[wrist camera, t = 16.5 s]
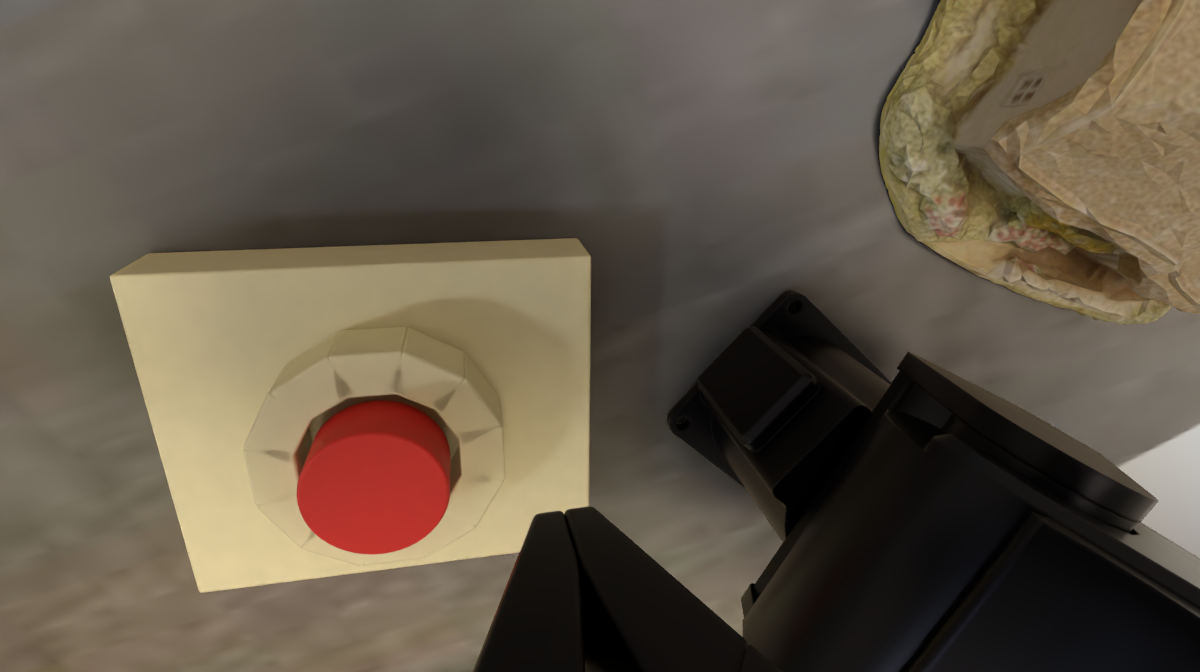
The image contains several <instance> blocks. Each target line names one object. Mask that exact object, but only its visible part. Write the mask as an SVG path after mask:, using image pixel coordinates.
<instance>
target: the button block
mask: <svg viewBox="0 0 1200 672" xmlns="http://www.w3.org/2000/svg"><path fill="white" fill-rule="evenodd" d="M110 280H111V284H112V287H113V291H114V294H115V298H116V301H117V305H118V308H119V312H120V315H121V319H122V322H123V326H124V330H125V333H126V337H127V340H128V344H129V347H130V351H131V354H132V358H133V361H134V365H135V368H136V372H137V375H138V379H139V382H140V386H141V389H142V393H143V396H144V400H145V403H146V407H147V410H148V414H149V417H150V421H151V425H152V428H153V432H154V435H155V439H156V442H157V446H158V449H159V453H160V456H161V460H162V463H163V467H164V470H165V474H166V477H167V481H168V484H169V488H170V491H171V495H172V498H173V502H174V505H175V509H176V512H177V516H178V519H179V523H180V527H181V530H182V534H183V537H184V541H185V544H186V548H187V551H188V555H189V558H190V562H191V565H192V569H193V572H194V576H195V579H196V583H197V586H198V590H199V592H200V593H204V592H212V591H220V590H228V589H236V588H243V587H251V586H259V585H267V584H275V583H282V582H290V581H298V580H306V579H314V578H322V577H329V576H337V575H345V574H353V573H361V572H368V571H376V570H384V569H392V568H400V567H408V566H415V565H423V564H431V563H439V562H447V561H454V560H462V559H470V558H478V557H486V556H493V555H501V554H509V553H517V552H520V550H521V548H522V545H523V543H524V540H525V538H526V535H527V532H528V530H529V527H530V525H531V522H532V520H533V518H534V516H535V515H536V514H538V513H545V512H552V511H561V512H563V513H565V511H566V510H568V509H573V508H580V507H587V506H589V463H590V338H591V256H590V255H589V253H588V252H587V251H586V249H585V248H584V246H583V245H582V244H581V242H580V241H579V240H578V239H577V238H566V239H537V240H509V241H481V242H453V243H425V244H396V245H368V246H340V247H312V248H284V249H255V250H227V251H199V252H171V253H148V254H146V255H145V256H143V257H141V258H139V259H138V260H136V261H134V262H133V263H131V264H129V265H128V266H126V267H124V268H122V269H121V270H119V271H117V272H116V273H114V274H112V275H110ZM374 400H386V401H395V402H400V403H404V404H407V405H410V406H412V407H415V408H417V409H419V410H420V411H422V412H424V413H425V414H427V415H428V416H429V417H430V418H432V419H433V420H434V421H435V422H436V423H437V424H438V425H439V427H440V428H441V430H442V431H443V433H444V434H445V436H446V438H447V441H448V444H449V448H450V498H449V503H448V506H447V510H446V512H445V514H444V516H443V518H442V519H441V521H440V522H439V524H438V525H437V526H436V527H435V528H434V529H433V530H432V532H430V533H429V534H428V535H427V536H426V537H425V538H423V539H422V540H420V541H419V542H417V543H415V544H413V545H411V546H409V547H407V548H404V549H402V550H398V551H395V552H390V553H385V554H359V553H353V552H348V551H345V550H342V549H339V548H336V547H334V546H332V545H330V544H328V543H327V542H325V541H324V540H322V539H321V538H319V537H318V536H317V535H316V534H315V533H314V532H313V531H312V530H311V529H310V528H309V527H308V525H307V524H306V522H305V521H304V519H303V517H302V515H301V513H300V510H299V507H298V503H297V484H298V480H299V477H300V474H301V471H302V469H303V466H304V464H305V461H306V459H307V456H308V453H309V451H310V448H311V446H312V443H313V441H314V438H315V436H316V434H317V433H318V431H319V429H320V428H321V427H322V426H323V425H324V423H325V422H326V421H327V420H329V419H330V418H331V417H332V416H333V415H335V414H336V413H338V412H339V411H341V410H343V409H345V408H347V407H350V406H352V405H355V404H358V403H362V402H367V401H374Z"/></svg>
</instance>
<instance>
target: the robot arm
mask: <svg viewBox="0 0 1200 672" xmlns="http://www.w3.org/2000/svg"><path fill="white" fill-rule="evenodd" d="M793 301H796V306H795V307H794V309H792V310H791V311H788V306H789V304H790V303H791V302H793ZM897 369H898V370H900V371H899V373H898V374H897V376H896V377H895V379H894V380H893V382H892V383H891V382H890V381H889V380H888V379H887V378H886V377H885V376H884V375H883V374H882V373H881V372H880V371H879V370H878V369H877V368H876V367H875V366H874V365H873V364H872V363H871V362H870V361H869V360H868V359H867V358H866V357H865V356H864V355H863V354H862V353H861V352H860V351H859V350H858V349H857V348H856V347H855V346H854V345H853V344H852V343H851V342H850V341H849V340H848V339H847V338H846V337H845V336H844V335H843V334H842V333H841V332H840V331H839V330H838V329H837V328H836V327H835V326H834V325H833V324H832V323H831V322H830V321H829V320H828V319H827V318H826V317H825V316H824V315H823V314H822V313H821V312H820V311H819V310H818V309H817V308H816V307H815V306H814V305H813V304H812V303H811V302H810V301H809V300H808V299H807V298H806V297H805V296H803V295H802V294H800V293H799V292H797V291H795V290H789V291H786V292H784V293H783V294H781V295H780V296H779V297H778V298H777V299H776V300H775V301H774V302H773V303H772V304H771V306H770V307H769V308H768V309H767V310H766V311H765V312H764V313H763V314H762V315H761V316H760V317H759V318H758V319H757V320H756V321H755V322H754V323H753V324H752V325H751V326H750V327H748V328H746V329H745V330H744V331H743V332H742V333H741V334H740V335H739V336H738V337H737V338H736V339H735V340H734V341H733V342H732V343H731V344H730V345H729V346H728V347H727V348H726V349H725V350H724V352H723V353H722V354H721V355H720V356H719V357H718V358H717V359H716V360H715V361H714V362H713V363H712V364H711V365H710V366H709V367H708V368H707V369H706V370H705V371H704V373H703V374H702V375H701V376H700V377H699V378H698V382H697V383H696V384H695V385H694V386H693V387H692V388H691V389H690V390H689V391H688V392H687V394H686V395H685V396H684V397H683V398H682V399H681V400H680V401H679V402H678V403H677V404H676V405H675V406H674V407H673V408H672V409H671V410H670V412H669V413H668V415H667V419H666V420H667V424H668V426H669V428H670V429H671V431H672V432H673V433H674V434H675V435H676V436H678V437H679V438H680V439H682V440H683V441H684V442H686V443H687V444H688V445H690V446H691V447H692V448H693V449H695V450H696V451H697V452H699V453H700V454H701V455H703V456H704V457H705V458H707V459H708V460H709V461H711V462H712V463H713V464H715V465H716V466H717V467H718V468H720V469H721V470H722V471H724V472H725V473H726V474H728V475H729V476H730V477H732V478H733V479H734V480H736V481H737V482H738V483H739V484H741V485H742V486H743V487H745V488H746V489H747V491H748V492H749V494H750V495H751V497H752V498H753V500H754V501H755V502H756V504H757V505H758V507H759V508H760V510H761V511H762V512H763V514H764V515H765V517H766V518H767V520H768V521H769V523H770V524H771V525H772V527H773V528H774V530H775V531H776V533H777V534H778V535H779V537H780V538H781V540H782V541H783V544H782V545H781V547H780V548H779V550H778V551H777V553H776V554H775V555H774V557H773V558H772V560H771V561H770V563H769V564H768V566H767V567H766V569H765V570H764V572H763V573H762V575H761V576H760V578H759V579H758V581H757V582H756V583H755V584H753V583H752V584H750V586H749V587H748V589H747V590H746V592H745V593H744V595H743V596H742V598H741V602H742V608H743V614H744V619H743V637H742V636H740V635H739V634H738V633H737V632H736V631H735V630H734V629H732V628H731V627H730V626H729V625H728V624H727V623H726V622H724V621H723V620H722V619H721V618H720V617H719V616H718V615H716V614H715V613H714V612H713V611H712V610H711V609H709V608H708V607H707V606H706V605H705V604H704V603H703V602H701V601H700V600H699V599H698V598H697V597H696V596H695V595H693V594H692V593H691V592H690V591H689V590H688V589H687V588H685V587H684V586H683V585H682V584H681V583H680V582H679V581H677V580H676V579H675V578H674V577H673V576H672V575H671V574H669V573H668V572H667V571H666V570H665V569H664V568H663V567H661V566H660V565H659V564H658V563H657V562H656V561H655V560H653V559H652V558H651V557H650V556H649V555H648V554H647V553H645V552H644V551H643V550H642V549H641V548H640V547H639V546H637V545H636V544H635V543H634V542H633V541H632V540H631V539H629V538H628V537H627V536H626V535H625V534H624V533H623V532H621V531H620V530H619V529H618V528H617V527H616V526H615V525H613V524H612V523H611V522H610V521H609V520H608V519H607V518H605V517H604V516H603V515H602V514H601V513H600V512H599V511H597V510H596V509H595V508H594V507H591V506H587V507H580V508H573V509H568V510H566V511H565V513H563V512H561V511H552V512H545V513H538V514H536V515H535V516H534V518H533V520H532V522H531V525H530V527H529V530H528V532H527V535H526V538H525V540H524V543H523V545H522V548H521V550H520V553H519V555H518V558H517V561H516V563H515V566H514V568H513V571H512V573H511V576H510V578H509V581H508V583H507V586H506V589H505V591H504V594H503V596H502V599H501V601H500V604H499V606H498V609H497V611H496V614H495V617H494V619H493V622H492V624H491V627H490V629H489V632H488V634H487V637H486V640H485V642H484V645H483V647H482V650H481V652H480V655H479V657H478V660H477V662H476V665H475V668H474V670H473V672H1200V559H1199V558H1198V557H1196V556H1195V555H1193V554H1192V553H1190V552H1188V551H1187V550H1185V549H1183V548H1182V547H1180V546H1179V545H1177V544H1175V543H1174V542H1172V541H1170V540H1168V539H1167V538H1165V537H1164V536H1162V535H1160V534H1159V533H1157V532H1156V531H1154V530H1152V529H1150V528H1149V527H1147V526H1146V525H1144V524H1142V523H1141V521H1142V520H1143V519H1144V517H1145V516H1146V515H1147V514H1148V513H1149V512H1150V510H1151V509H1152V508H1153V507H1154V506H1155V504H1156V503H1157V502H1158V500H1157V499H1156V498H1155V497H1154V496H1153V495H1151V494H1150V493H1149V492H1148V491H1146V490H1145V489H1144V488H1143V487H1141V486H1140V485H1139V484H1137V483H1136V482H1135V481H1134V480H1132V479H1131V478H1130V477H1129V476H1127V475H1126V474H1125V473H1124V472H1122V471H1121V470H1120V469H1119V468H1117V467H1116V466H1115V465H1114V464H1112V463H1111V462H1110V461H1108V460H1107V459H1106V458H1105V457H1103V456H1102V455H1101V454H1100V453H1098V452H1096V451H1095V450H1093V449H1091V448H1090V447H1088V446H1086V445H1084V444H1083V443H1081V442H1079V441H1077V440H1076V439H1074V438H1072V437H1070V436H1069V435H1067V434H1065V433H1064V432H1062V431H1060V430H1058V429H1057V428H1055V427H1053V426H1051V425H1050V424H1048V423H1046V422H1044V421H1043V420H1041V419H1039V418H1037V417H1036V416H1034V415H1032V414H1030V413H1029V412H1027V411H1025V410H1023V409H1022V408H1020V407H1018V406H1016V405H1014V404H1012V403H1010V402H1008V401H1006V400H1004V399H1002V398H1000V397H998V396H996V395H994V394H992V393H990V392H988V391H986V390H984V389H982V388H980V387H978V386H976V385H974V384H972V383H970V382H968V381H966V380H964V379H962V378H960V377H958V376H956V375H954V374H952V373H951V372H949V371H947V370H945V369H943V368H941V367H939V366H937V365H935V364H933V363H931V362H929V361H927V360H925V359H923V358H921V357H919V356H917V355H915V354H913V353H911V352H909V351H908V352H907V354H906V355H905V357H904V358H903V360H902V361H901V363H900V364H899V366H898V367H897ZM681 417H687V419H686V420H685V422H683V423H682V424H677V421H678V419H680V418H681Z"/></svg>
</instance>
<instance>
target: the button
mask: <svg viewBox="0 0 1200 672" xmlns="http://www.w3.org/2000/svg"><path fill="white" fill-rule="evenodd" d="M449 498H450V448H449V444H448V441H447V438H446V436H445V434H444V433H443V431H442V430H441V428H440V427H439V425H438V424H437V423H436V422H435V421H434V420H433V419H432V418H430V417H429V416H428V415H427V414H425V413H424V412H422V411H420V410H419V409H417V408H415V407H412V406H410V405H407V404H404V403H400V402H395V401H386V400H374V401H367V402H362V403H358V404H355V405H352V406H350V407H347V408H345V409H343V410H341V411H339V412H338V413H336V414H335V415H333V416H332V417H331V418H330V419H329V420H327V421H326V422H325V423H324V425H323V426H322V427H321V428H320V429H319V431H318V433H317V434H316V436H315V438H314V441H313V443H312V446H311V448H310V451H309V453H308V456H307V459H306V461H305V464H304V466H303V469H302V471H301V474H300V477H299V480H298V484H297V503H298V507H299V510H300V513H301V515H302V517H303V519H304V521H305V522H306V524H307V525H308V527H309V528H310V529H311V530H312V531H313V532H314V533H315V534H316V535H317V536H318V537H319V538H321V539H322V540H324V541H325V542H327V543H328V544H330V545H332V546H334V547H336V548H339V549H342V550H345V551H348V552H353V553H359V554H385V553H390V552H395V551H398V550H402V549H404V548H407V547H409V546H411V545H413V544H415V543H417V542H419V541H420V540H422V539H423V538H425V537H426V536H427V535H428V534H429V533H430V532H432V530H433V529H434V528H435V527H436V526H437V525H438V524H439V522H440V521H441V519H442V518H443V516H444V514H445V512H446V510H447V506H448V503H449Z"/></svg>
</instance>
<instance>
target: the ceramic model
mask: <svg viewBox="0 0 1200 672" xmlns="http://www.w3.org/2000/svg"><path fill="white" fill-rule="evenodd" d="M925 32H926V33H925V35H924V36H923V38H922V40H921V43H920V45H919V46H918V47H917V48H916V49H915V52H916V53H915V54H913V55H912V56H911V58H910V59H909V61H908V63H907V65H906V67H905V68H904V70H903V71H902V73H901V74H900V76H899V78H898V80H897V82H896V83H895V85H894V87H893V89H892V90H891V92H890V94H889V95H888V97H887V98H886V99H887V101H886V103H885V105H884V107H883V110H882V114H881V123H880V132H881V133H880V137H879V141H880V145H879V159H880V166H881V173H882V175H883V179H884V181H885V183H886V188H887V189H888V192H889V197H890V200H891V202H892V204H893V205H894V209H895V212H896V215H897V217H898V220H899V221H900V222H901V224H902V225H903V227H904V228H905V230H906V231H907V232H908V233H910V234H911V235H913V236H914V237H915V238H916V240H917V241H919V242H922V243H924V244H925V245H927V246H928V247H930V248H931V249H933V250H934V251H936V252H937V253H939V254H941V255H942V256H944V257H946V258H948V259H949V260H951V261H953V262H955V263H956V264H958V265H960V266H962V267H964V268H965V269H967V270H969V271H971V272H973V273H974V274H975V275H977V276H979V277H982V278H985V279H988V280H990V281H992V282H994V283H996V284H1000V285H1004V286H1005V287H1007V288H1008V289H1010V290H1012V291H1014V292H1017V293H1019V294H1022V295H1024V296H1027V297H1030V298H1032V299H1035V300H1039V301H1042V302H1045V303H1048V304H1051V305H1054V306H1056V307H1062V308H1071V309H1073V310H1075V311H1076V312H1078V313H1079V314H1081V315H1083V316H1091V317H1092V318H1093V319H1094V320H1103V321H1105V322H1114V323H1118V324H1123V325H1127V324H1147V323H1149V322H1152V321H1156V320H1158V319H1159V318H1160V317H1161V316H1163V315H1164V314H1165V313H1166V312H1167V311H1169V310H1170V308H1171V307H1172V306H1174V307H1175V308H1177V309H1178V310H1180V311H1185V312H1191V313H1198V314H1200V0H941V1H940V3H939V4H938V7H937V10H936V11H935V13H934V15H933V17H932V20H931V22H930V25H929V27H928V28H927V30H926V31H925Z"/></svg>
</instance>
